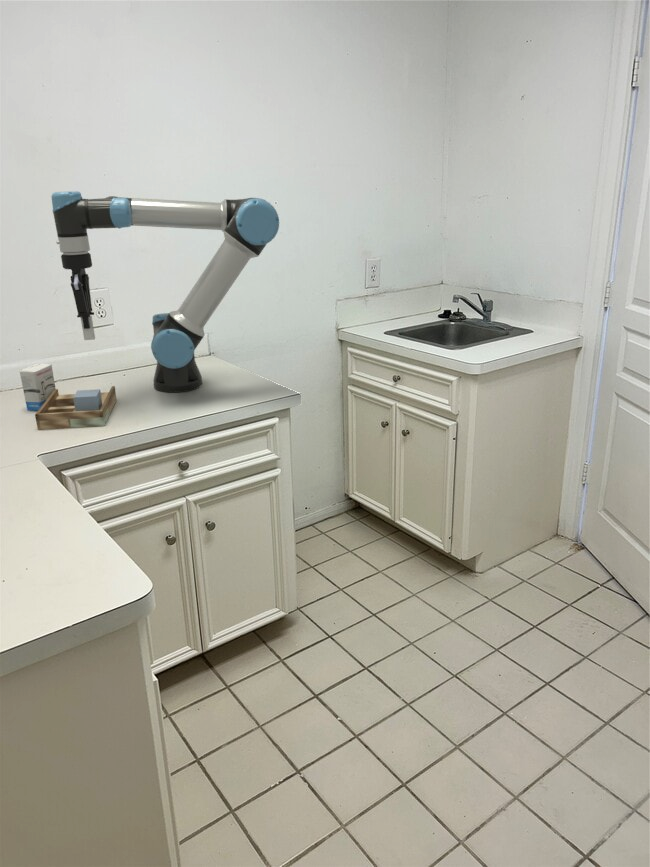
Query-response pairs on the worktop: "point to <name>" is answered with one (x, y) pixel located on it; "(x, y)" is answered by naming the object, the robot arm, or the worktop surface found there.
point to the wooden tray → (73, 412)
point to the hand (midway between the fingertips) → (89, 339)
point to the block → (87, 400)
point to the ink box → (37, 384)
